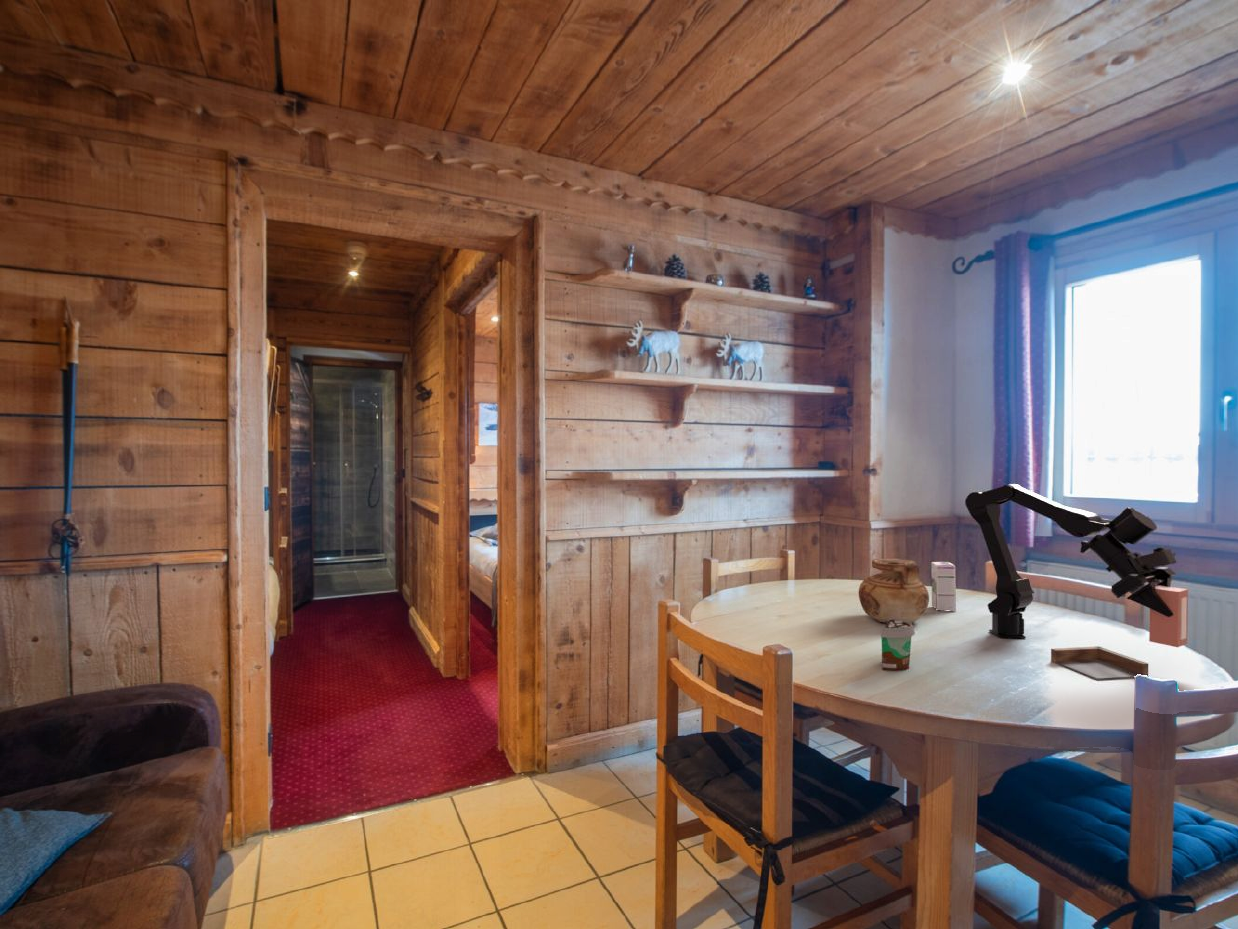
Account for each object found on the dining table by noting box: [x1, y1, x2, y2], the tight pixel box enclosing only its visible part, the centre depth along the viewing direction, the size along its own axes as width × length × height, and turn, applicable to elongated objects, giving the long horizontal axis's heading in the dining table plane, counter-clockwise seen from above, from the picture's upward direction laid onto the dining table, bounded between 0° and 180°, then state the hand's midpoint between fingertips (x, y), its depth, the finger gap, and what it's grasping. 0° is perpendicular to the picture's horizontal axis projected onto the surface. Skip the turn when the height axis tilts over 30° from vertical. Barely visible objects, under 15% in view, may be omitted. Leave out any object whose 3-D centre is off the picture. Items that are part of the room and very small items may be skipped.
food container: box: [880, 616, 916, 672], centre depth 146 cm, size 12×6×10 cm, turn 148°
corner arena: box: [1050, 645, 1149, 681], centre depth 143 cm, size 12×12×3 cm
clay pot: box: [858, 557, 930, 624], centre depth 186 cm, size 19×19×20 cm
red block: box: [1148, 585, 1189, 648], centre depth 140 cm, size 5×5×12 cm
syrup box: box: [931, 561, 957, 612], centre depth 198 cm, size 6×6×14 cm
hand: (1176, 614), depth 139 cm, fingers closed on red block, 5 cm apart
